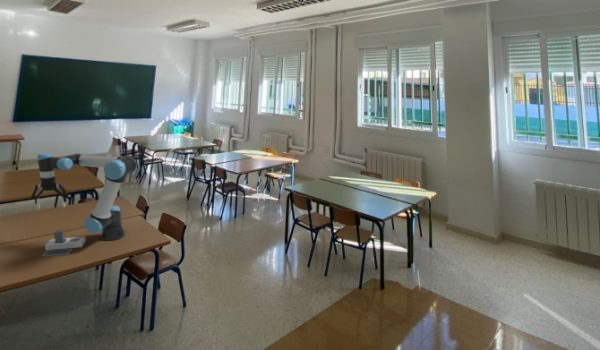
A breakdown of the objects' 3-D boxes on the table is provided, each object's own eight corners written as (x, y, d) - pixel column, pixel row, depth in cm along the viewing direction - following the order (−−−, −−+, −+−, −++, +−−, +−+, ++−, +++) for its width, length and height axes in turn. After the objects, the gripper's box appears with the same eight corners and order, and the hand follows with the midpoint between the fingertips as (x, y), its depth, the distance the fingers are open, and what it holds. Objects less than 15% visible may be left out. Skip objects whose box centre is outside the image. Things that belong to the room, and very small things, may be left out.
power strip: (85, 241, 217) (85, 235, 216) (81, 246, 209) (81, 241, 208) (51, 244, 211) (50, 238, 210) (45, 250, 203) (44, 244, 202)
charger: (66, 243, 212) (64, 229, 209) (63, 246, 208) (61, 232, 205) (58, 244, 210) (56, 230, 208) (56, 247, 206) (54, 233, 204)
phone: (47, 252, 202) (46, 250, 201) (72, 250, 206) (72, 248, 205) (41, 257, 195) (41, 256, 195) (68, 255, 199) (67, 253, 199)
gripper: (72, 174, 213) (75, 204, 218) (26, 176, 203) (31, 206, 208) (68, 177, 206) (72, 207, 211) (21, 179, 197) (26, 210, 202)
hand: (51, 207), depth 210 cm, fingers open, 13 cm apart
